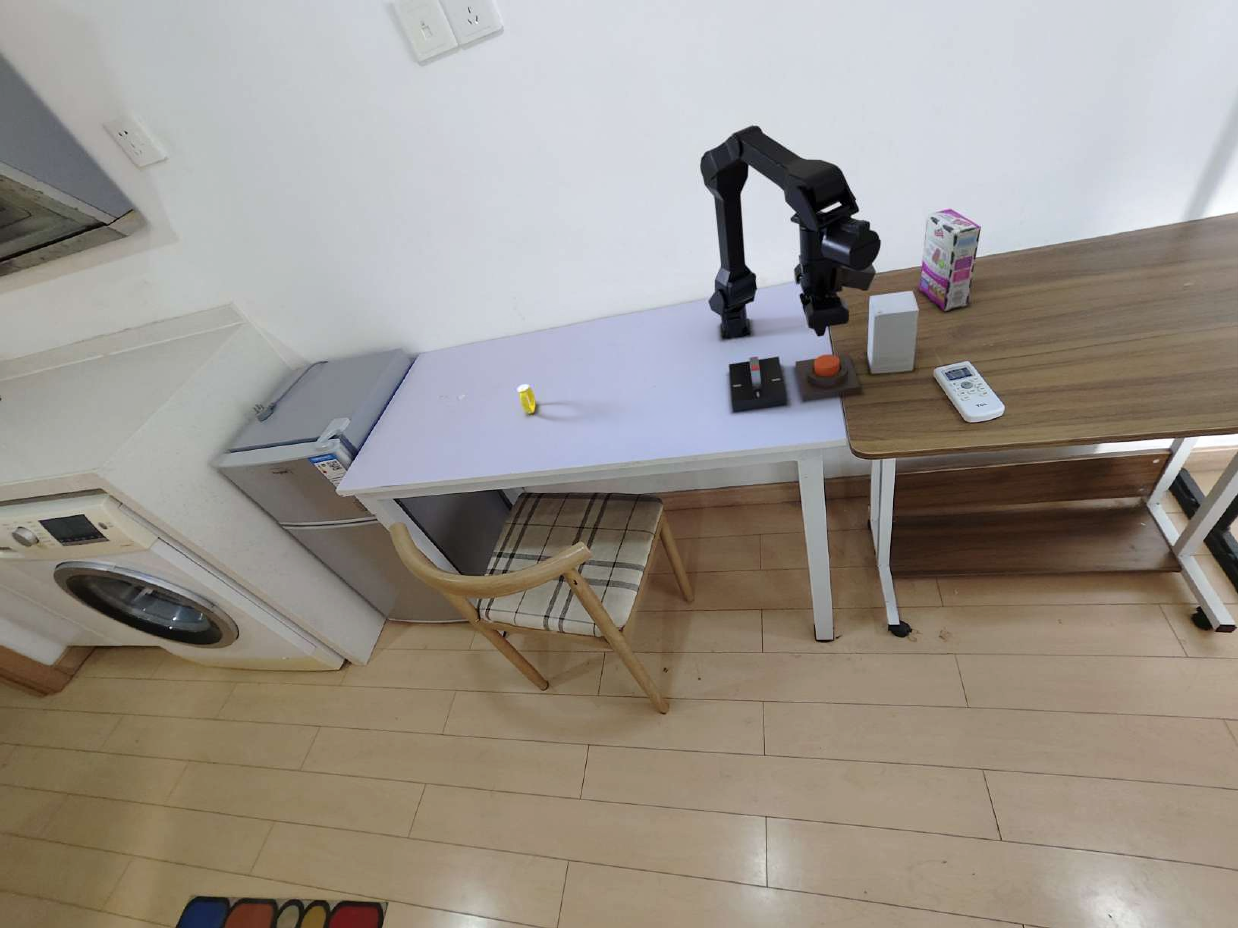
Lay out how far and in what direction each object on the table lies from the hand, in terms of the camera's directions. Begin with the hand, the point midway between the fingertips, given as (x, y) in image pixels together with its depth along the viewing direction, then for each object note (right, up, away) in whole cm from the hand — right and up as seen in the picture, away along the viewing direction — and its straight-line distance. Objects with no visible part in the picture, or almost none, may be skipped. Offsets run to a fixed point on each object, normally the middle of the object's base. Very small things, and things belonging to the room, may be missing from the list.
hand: (820, 335), depth 104 cm
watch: (-55, -11, +26) cm, 62 cm away
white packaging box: (+16, -4, +7) cm, 18 cm away
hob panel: (-9, -8, +11) cm, 16 cm away
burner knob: (-9, -7, +8) cm, 15 cm away
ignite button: (+3, -5, +5) cm, 8 cm away
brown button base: (+4, -7, +8) cm, 11 cm away
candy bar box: (+32, +12, +18) cm, 39 cm away
